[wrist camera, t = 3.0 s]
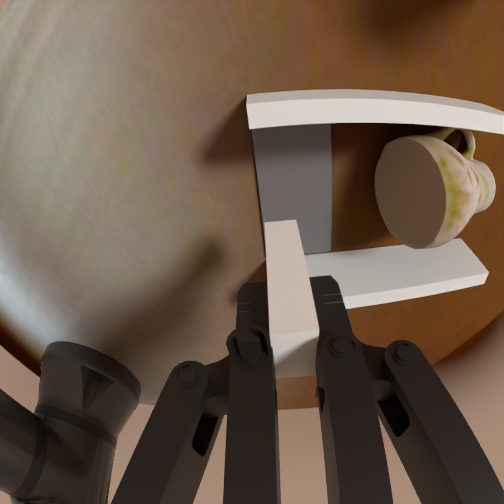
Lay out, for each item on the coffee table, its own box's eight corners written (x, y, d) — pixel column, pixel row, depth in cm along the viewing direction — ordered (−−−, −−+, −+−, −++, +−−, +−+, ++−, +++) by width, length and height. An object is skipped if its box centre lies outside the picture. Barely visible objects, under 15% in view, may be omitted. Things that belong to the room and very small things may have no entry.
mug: (469, 210, 21) (477, 298, 15) (374, 169, 24) (350, 246, 18) (503, 141, 15) (541, 217, 9) (395, 92, 18) (385, 139, 12)
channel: (268, 271, 24) (271, 317, 20) (247, 94, 16) (246, 104, 12) (457, 249, 23) (484, 283, 19) (482, 103, 15) (525, 121, 11)
